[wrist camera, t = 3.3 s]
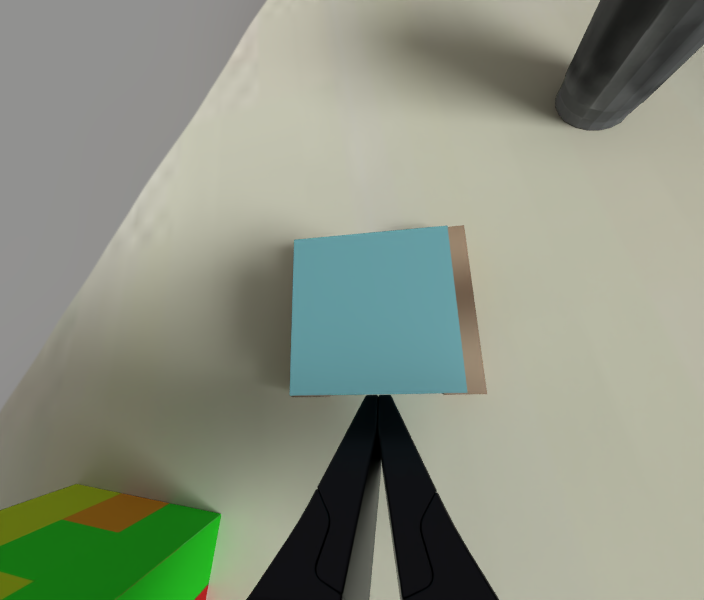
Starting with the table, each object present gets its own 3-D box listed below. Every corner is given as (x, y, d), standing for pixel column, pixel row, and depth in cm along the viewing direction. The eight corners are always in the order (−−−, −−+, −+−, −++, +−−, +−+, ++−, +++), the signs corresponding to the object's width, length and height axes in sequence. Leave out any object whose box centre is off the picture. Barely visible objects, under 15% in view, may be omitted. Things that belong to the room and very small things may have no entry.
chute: (474, 391, 16) (487, 393, 14) (304, 394, 17) (291, 397, 15) (456, 242, 18) (463, 225, 16) (306, 255, 19) (295, 240, 17)
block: (429, 382, 16) (467, 392, 8) (343, 384, 17) (289, 395, 8) (422, 298, 18) (447, 225, 9) (342, 302, 18) (294, 239, 10)
